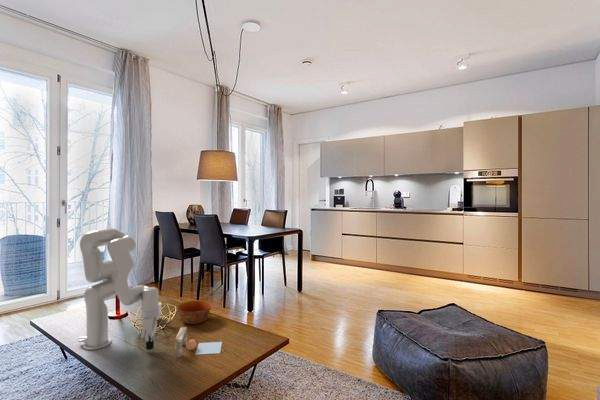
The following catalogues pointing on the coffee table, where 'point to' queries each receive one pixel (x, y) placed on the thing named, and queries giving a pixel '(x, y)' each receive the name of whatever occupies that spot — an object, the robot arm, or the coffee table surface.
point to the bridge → (180, 341)
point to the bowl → (194, 311)
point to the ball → (191, 344)
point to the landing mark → (209, 348)
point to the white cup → (159, 310)
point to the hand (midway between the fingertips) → (149, 348)
